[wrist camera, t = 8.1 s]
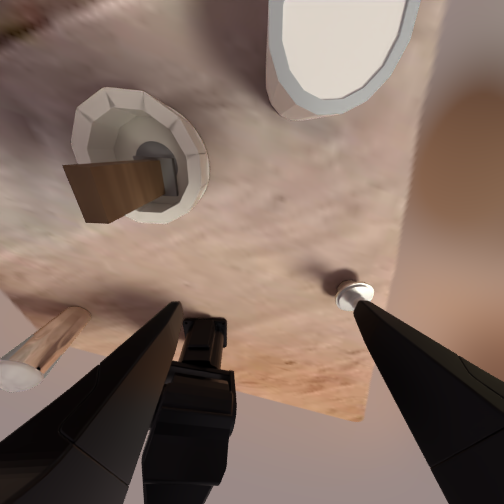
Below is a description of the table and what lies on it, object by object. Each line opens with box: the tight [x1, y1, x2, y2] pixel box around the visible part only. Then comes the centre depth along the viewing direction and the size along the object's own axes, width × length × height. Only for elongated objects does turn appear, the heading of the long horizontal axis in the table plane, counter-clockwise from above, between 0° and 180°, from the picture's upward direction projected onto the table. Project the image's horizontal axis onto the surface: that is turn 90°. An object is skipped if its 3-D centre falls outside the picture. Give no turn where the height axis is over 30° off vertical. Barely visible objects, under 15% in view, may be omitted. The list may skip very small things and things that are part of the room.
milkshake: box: [0, 306, 91, 392], centre depth 21 cm, size 5×5×10 cm
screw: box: [335, 280, 374, 311], centre depth 19 cm, size 13×5×5 cm
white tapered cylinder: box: [266, 0, 421, 121], centre depth 11 cm, size 7×7×7 cm
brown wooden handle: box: [62, 156, 179, 224], centre depth 13 cm, size 3×3×9 cm
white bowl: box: [70, 87, 210, 224], centre depth 15 cm, size 9×9×4 cm
